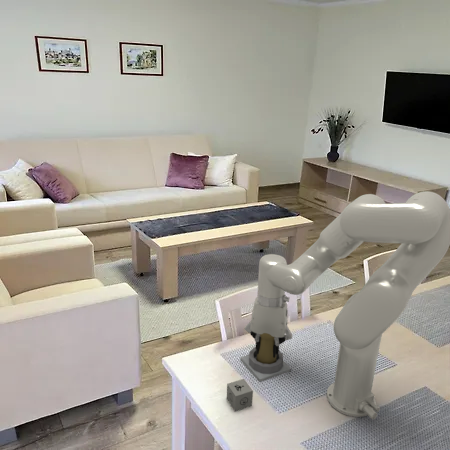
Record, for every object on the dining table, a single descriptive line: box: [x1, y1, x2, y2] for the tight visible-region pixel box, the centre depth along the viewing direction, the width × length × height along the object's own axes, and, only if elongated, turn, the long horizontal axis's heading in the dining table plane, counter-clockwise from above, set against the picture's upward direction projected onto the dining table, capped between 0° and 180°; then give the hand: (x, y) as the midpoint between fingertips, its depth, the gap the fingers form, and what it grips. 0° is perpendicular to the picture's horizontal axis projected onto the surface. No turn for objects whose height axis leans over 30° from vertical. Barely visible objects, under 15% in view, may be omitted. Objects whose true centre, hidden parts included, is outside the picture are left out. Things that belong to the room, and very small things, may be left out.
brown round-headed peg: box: [256, 333, 277, 364], centre depth 124 cm, size 6×6×11 cm
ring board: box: [239, 346, 293, 383], centre depth 126 cm, size 11×11×4 cm
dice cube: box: [226, 378, 254, 412], centre depth 112 cm, size 5×5×5 cm
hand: (267, 352), depth 125 cm, fingers closed on brown round-headed peg, 4 cm apart
